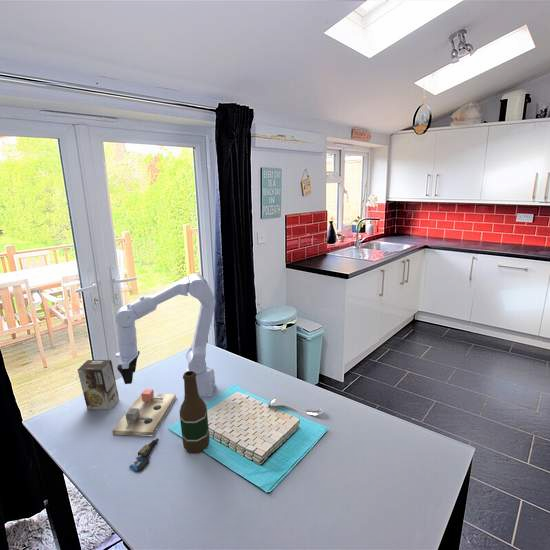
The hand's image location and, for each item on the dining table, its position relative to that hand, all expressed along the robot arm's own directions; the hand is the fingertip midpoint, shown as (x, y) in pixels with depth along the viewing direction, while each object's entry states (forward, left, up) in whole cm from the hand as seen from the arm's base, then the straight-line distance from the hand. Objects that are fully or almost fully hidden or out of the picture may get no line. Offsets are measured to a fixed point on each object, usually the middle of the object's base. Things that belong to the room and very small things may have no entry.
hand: (130, 377), depth 126 cm
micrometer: (-16, +24, -11) cm, 31 cm away
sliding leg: (-7, 0, -8) cm, 11 cm away
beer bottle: (-29, +19, -11) cm, 36 cm away
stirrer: (-57, 0, -11) cm, 58 cm away
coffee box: (+11, +1, -11) cm, 15 cm away
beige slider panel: (-7, +6, -10) cm, 14 cm away
